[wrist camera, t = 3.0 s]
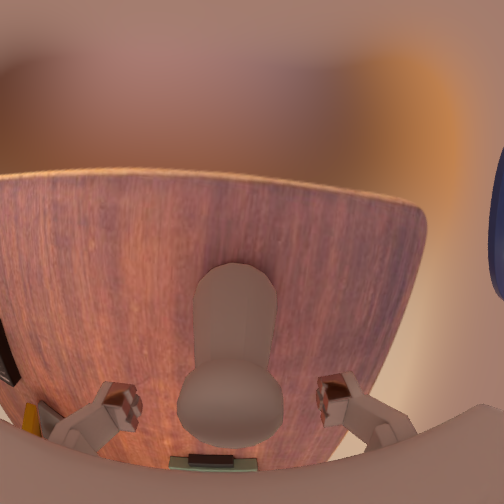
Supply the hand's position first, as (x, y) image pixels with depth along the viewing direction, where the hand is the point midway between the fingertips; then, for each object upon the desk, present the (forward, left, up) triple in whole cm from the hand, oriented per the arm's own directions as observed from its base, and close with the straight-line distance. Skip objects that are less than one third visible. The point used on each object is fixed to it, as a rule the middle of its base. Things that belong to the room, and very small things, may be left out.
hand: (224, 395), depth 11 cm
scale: (+6, +32, -11) cm, 34 cm away
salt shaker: (0, 0, -11) cm, 11 cm away
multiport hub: (+34, +8, -11) cm, 36 cm away
